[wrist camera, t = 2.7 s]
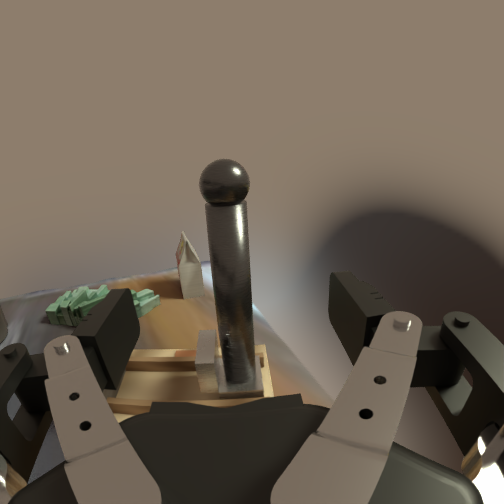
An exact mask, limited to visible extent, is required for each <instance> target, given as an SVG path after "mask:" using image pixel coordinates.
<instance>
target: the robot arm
mask: <svg viewBox="0 0 504 504" xmlns="http://www.w3.org/2000/svg"><path fill="white" fill-rule="evenodd" d="M328 312H329V319H330V322H331V324H332V326H333V328H334V330H335V332H336V333H337V335H338V337H339V339H340V341H341V343H342V345H343V347H344V349H345V351H346V352H347V354H348V356H349V358H350V360H351V362H352V364H353V366H354V367H353V369H352V371H351V373H350V375H349V377H348V379H347V380H346V383H345V384H344V386H343V388H342V390H341V391H340V393H339V395H338V397H337V398H336V400H335V402H334V404H333V405H332V407H331V409H330V408H326V407H323V406H318V405H311V404H303V401H302V397H301V394H293V395H286V396H277V397H268V398H261V399H258V400H254V401H251V402H247V403H243V404H239V405H235V406H231V407H227V408H220V407H213V406H207V405H201V404H195V403H190V402H152V404H151V407H150V411H149V412H146V413H142V414H138V415H135V416H132V417H129V418H127V419H125V420H123V421H121V422H119V423H118V421H117V420H116V418H115V416H114V414H113V412H112V410H111V408H110V407H109V405H108V403H107V401H106V399H105V397H104V395H103V391H104V389H107V390H117V387H118V385H119V382H120V380H121V378H122V375H123V373H124V370H125V368H126V366H127V363H128V361H129V359H130V356H131V354H132V352H133V349H134V347H135V345H136V342H137V340H138V338H139V335H140V324H139V320H138V316H137V312H136V308H135V305H134V301H133V296H132V293H131V291H130V289H128V288H126V289H111V290H110V291H109V293H108V294H107V295H106V297H105V298H104V299H103V300H102V301H101V302H99V303H98V304H96V305H95V306H93V307H92V308H91V309H90V311H89V312H88V313H87V315H86V316H85V317H84V318H83V321H81V322H80V324H79V325H78V326H77V328H76V329H75V330H74V332H73V333H72V334H71V335H65V336H61V337H58V338H55V339H54V340H52V341H50V342H49V343H48V344H47V345H46V347H45V349H44V353H42V354H35V355H29V352H28V350H27V348H26V346H25V345H24V344H21V343H15V344H11V345H9V346H7V347H5V348H3V349H2V350H1V351H0V504H504V345H503V344H502V343H501V342H500V341H499V340H498V339H497V338H496V337H495V336H494V335H493V334H492V333H491V332H489V330H488V329H486V328H485V327H484V326H483V325H482V324H481V323H480V322H479V321H478V320H477V319H476V318H475V317H473V316H472V315H469V314H467V313H464V312H450V313H448V314H446V315H445V316H444V318H443V323H442V326H422V322H421V320H420V319H419V318H418V317H417V316H415V315H413V314H411V313H407V312H402V311H395V309H394V308H392V306H391V305H390V304H389V303H388V302H387V301H386V300H385V299H383V296H381V294H379V293H378V291H377V290H376V289H375V288H374V287H373V286H372V285H370V284H368V283H366V282H364V281H359V280H358V279H357V278H356V277H355V276H354V275H353V274H352V273H351V272H350V271H343V272H334V273H331V275H330V285H329V307H328ZM7 325H8V323H7V321H6V319H5V316H4V313H3V311H2V308H1V306H0V343H1V342H2V341H3V340H4V339H5V337H6V336H7V333H8V329H7ZM465 367H466V368H467V370H468V371H469V372H470V374H471V375H472V378H473V388H472V387H471V386H470V385H469V383H468V382H467V381H466V379H465V378H464V377H463V372H464V370H465ZM410 387H425V388H426V390H427V391H428V393H429V395H430V396H431V398H432V400H433V401H434V403H435V405H436V407H437V408H438V410H439V412H440V413H441V415H442V417H443V418H444V420H445V422H446V424H447V426H448V427H449V429H450V431H451V433H452V435H453V436H454V438H455V440H456V442H457V444H458V446H459V448H460V449H461V451H462V453H463V455H464V459H463V461H462V473H463V474H461V473H459V472H457V471H455V470H452V469H450V468H448V467H446V466H443V465H441V464H439V463H437V462H435V461H432V460H430V459H428V458H426V457H424V456H422V455H419V454H417V453H415V452H413V451H411V450H409V449H407V448H405V447H403V446H401V445H399V444H397V443H395V442H394V441H393V440H394V436H395V434H396V431H397V428H398V425H399V422H400V419H401V416H402V413H403V409H404V406H405V403H406V399H407V396H408V392H409V388H410ZM13 393H15V394H16V396H17V397H18V399H19V401H20V402H21V406H20V408H19V410H18V412H17V413H16V415H15V417H14V419H13V421H12V420H11V419H10V417H9V416H8V413H7V403H8V401H9V400H10V398H11V396H12V395H13ZM52 420H54V424H55V428H56V431H57V435H58V438H59V441H60V444H61V447H62V450H63V453H64V456H65V461H63V462H62V463H61V464H59V465H58V466H56V467H55V468H53V469H52V470H50V471H49V472H47V473H45V474H44V475H42V476H41V477H39V478H38V479H36V480H35V481H33V482H32V483H30V484H28V485H27V483H28V480H29V477H30V475H31V472H32V469H33V466H34V464H35V461H36V459H37V456H38V453H39V451H40V448H41V446H42V443H43V441H44V439H45V436H46V434H47V431H48V429H49V427H50V424H51V422H52Z"/></svg>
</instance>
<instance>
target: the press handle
mask: <svg viewBox="0 0 504 504" xmlns="http://www.w3.org/2000/svg"><path fill="white" fill-rule="evenodd" d="M249 186H250V181H249V176H248V174H247V172H246V170H245V169H244V167H243V166H242V165H240V164H239V163H238V162H236V161H233V160H230V159H220V160H216V161H214V162H212V163H210V164H209V165H208V166H207V167H206V168H205V169H204V170H203V172H202V174H201V177H200V181H199V187H200V192H201V194H202V196H203V198H204V199H205V200H206V202H208V203H206V204H205V209H206V221H207V232H208V241H209V252H210V262H211V271H212V280H213V289H214V298H215V306H216V314H217V322H218V330H219V338H220V345H221V353H222V358H220V356H219V349H218V342H217V334H216V330H199V336H198V343H197V351H196V358H195V368H196V372H197V377H198V381H199V386H200V390H201V393H217V392H219V396H220V400H228V399H245V398H258V397H264V387H263V380H262V373H261V366H260V358H259V355H258V356H255V345H254V328H253V310H252V292H251V275H250V257H249V239H248V222H247V221H248V220H247V202H246V201H245V200H244V199H245V197H246V196H247V193H248V191H249Z"/></svg>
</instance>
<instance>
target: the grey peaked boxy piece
mask: <svg viewBox="0 0 504 504" xmlns="http://www.w3.org/2000/svg"><path fill="white" fill-rule="evenodd" d="M176 258H177V265H178V272H179V279H180V284H181V289H182V294H183V298H184V299H188V298H194V297H200V296H205V293H204V285H203V278H202V269H201V263H200V261H199V258H198V256H197V253H196V251H195V250H194V248H193V247H192V245H191V244H190V242H189V241H188V239H187V237H186V236H185V233H184V232H182V235H181V239H180V243H179V246H178V249H177V252H176Z"/></svg>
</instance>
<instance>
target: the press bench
mask: <svg viewBox="0 0 504 504" xmlns="http://www.w3.org/2000/svg"><path fill="white" fill-rule="evenodd" d="M218 349H219V356H220V358H222V353H221V348H218ZM196 351H197V349H166V350H134V349H133V352H132V354H131V356H130V359H129V361H128V363H127V366H126V368H125V370H124V373H123V375H122V378H121V380H120V382H119V385H118V387H117V390H107V389H104V391H103V395H104V397H105V399H106V401H107V403H108V405H109V407H110V408H111V410H112V412H113V414H114V416H115V418H116V420H117V421H118V423H119V422H121V421H123V420H125V419H127V418H129V417H132V416H135V415H138V414H142V413H146V412H149V411H150V407H151V404H152V402H190V403H195V404H201V405H207V406H213V407H220V408H227V407H231V406H235V405H239V404H243V403H247V402H251V401H254V400H258V399H261V398H268V397H274V394H273V388H272V383H271V377H270V371H269V365H268V359H267V354H266V348H265V345H255V356H258V355H259V358H260V366H261V373H262V380H263V387H264V397H258V398H245V399H228V400H220V396H219V392H217V393H201V390H200V386H199V381H198V377H197V372H196V368H195V358H196Z"/></svg>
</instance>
